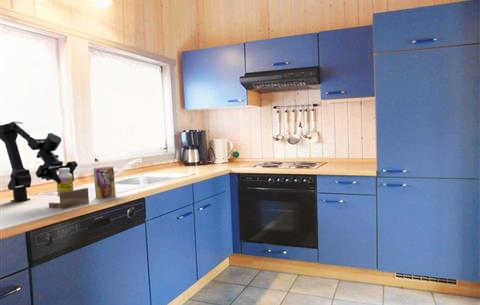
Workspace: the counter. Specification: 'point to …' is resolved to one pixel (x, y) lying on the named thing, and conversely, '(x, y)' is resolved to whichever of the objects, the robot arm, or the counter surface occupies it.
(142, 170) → the counter surface
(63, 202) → the brown rectangular box
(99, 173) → the candy box
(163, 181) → the counter surface
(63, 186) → the supplement bottle
